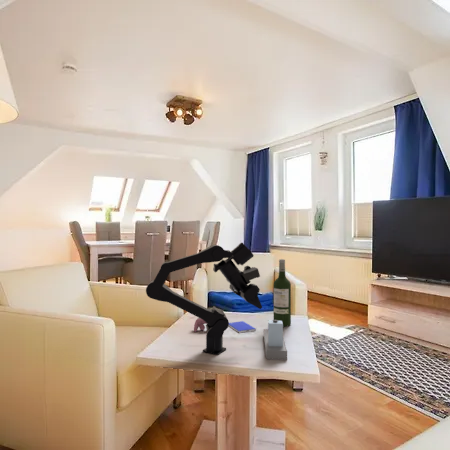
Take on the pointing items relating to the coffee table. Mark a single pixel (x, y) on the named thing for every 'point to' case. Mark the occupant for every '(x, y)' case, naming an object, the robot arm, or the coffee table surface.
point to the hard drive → (241, 327)
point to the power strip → (274, 349)
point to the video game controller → (199, 324)
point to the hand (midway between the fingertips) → (256, 305)
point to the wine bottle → (282, 296)
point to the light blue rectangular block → (275, 333)
